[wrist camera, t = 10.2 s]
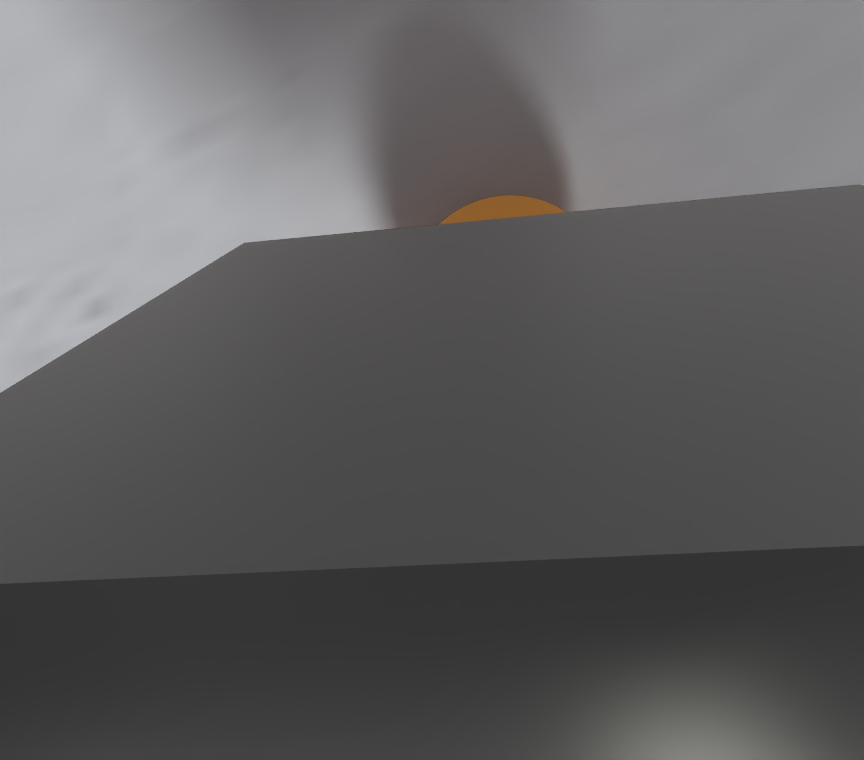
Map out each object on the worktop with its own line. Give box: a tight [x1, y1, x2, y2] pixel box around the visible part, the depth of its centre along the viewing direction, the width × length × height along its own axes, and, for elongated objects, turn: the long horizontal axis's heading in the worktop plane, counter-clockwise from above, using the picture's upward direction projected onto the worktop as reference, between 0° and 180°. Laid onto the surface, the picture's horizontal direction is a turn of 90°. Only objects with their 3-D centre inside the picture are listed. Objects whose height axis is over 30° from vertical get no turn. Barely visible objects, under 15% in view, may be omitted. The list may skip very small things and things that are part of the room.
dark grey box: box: [0, 185, 864, 760], centre depth 7 cm, size 8×8×7 cm
